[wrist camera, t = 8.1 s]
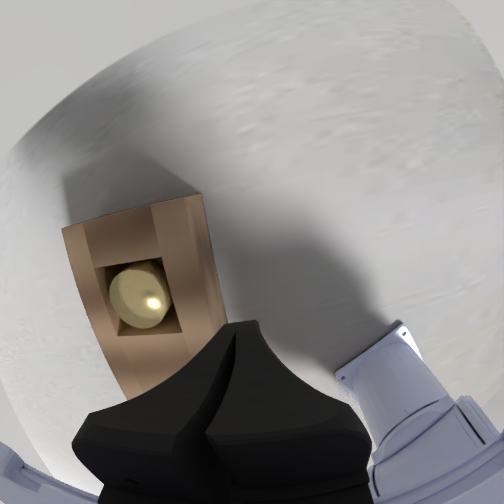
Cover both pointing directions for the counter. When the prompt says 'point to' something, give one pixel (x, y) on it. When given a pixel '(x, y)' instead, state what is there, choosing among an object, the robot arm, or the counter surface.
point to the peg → (141, 293)
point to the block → (179, 279)
